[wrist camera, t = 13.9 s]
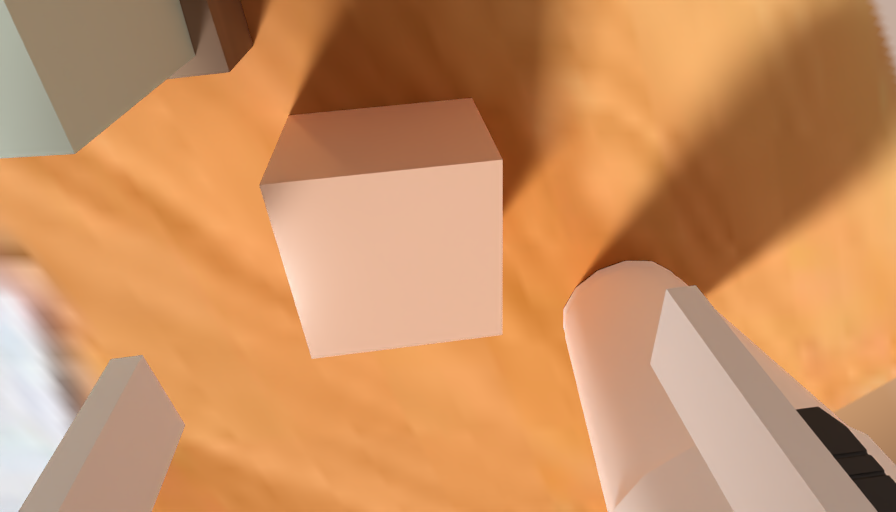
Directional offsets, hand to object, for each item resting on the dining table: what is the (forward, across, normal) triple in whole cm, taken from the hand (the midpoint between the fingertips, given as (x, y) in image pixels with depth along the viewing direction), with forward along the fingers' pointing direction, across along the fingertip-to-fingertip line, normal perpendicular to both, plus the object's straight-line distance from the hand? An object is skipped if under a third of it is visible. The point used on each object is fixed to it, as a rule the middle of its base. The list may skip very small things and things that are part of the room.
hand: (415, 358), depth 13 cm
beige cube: (+10, 0, 0) cm, 10 cm away
